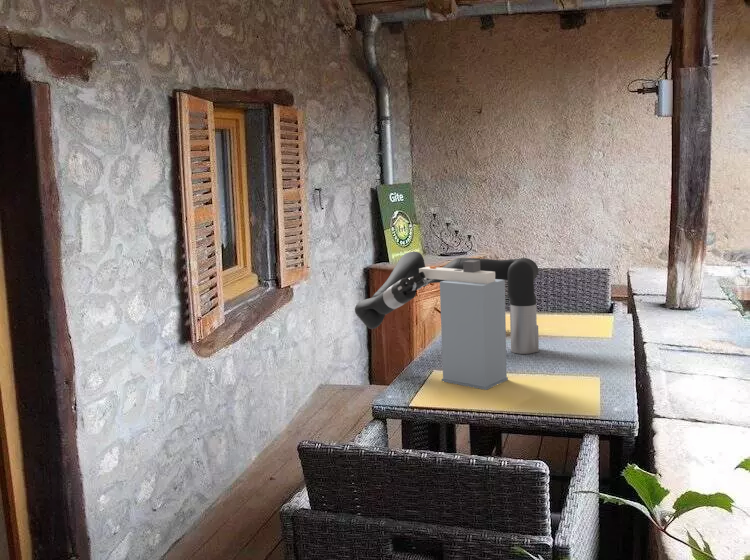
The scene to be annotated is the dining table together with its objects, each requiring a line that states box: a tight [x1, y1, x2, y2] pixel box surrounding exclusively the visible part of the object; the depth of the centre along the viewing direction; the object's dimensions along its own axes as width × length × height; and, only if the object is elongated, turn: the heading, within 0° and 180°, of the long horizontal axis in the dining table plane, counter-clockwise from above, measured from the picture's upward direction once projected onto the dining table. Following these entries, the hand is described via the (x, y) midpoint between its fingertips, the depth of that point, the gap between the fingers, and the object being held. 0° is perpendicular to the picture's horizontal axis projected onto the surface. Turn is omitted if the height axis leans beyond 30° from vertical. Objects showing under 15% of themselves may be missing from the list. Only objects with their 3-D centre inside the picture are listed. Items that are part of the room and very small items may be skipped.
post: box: [439, 279, 509, 391], centre depth 241 cm, size 17×13×32 cm
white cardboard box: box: [419, 260, 495, 284], centre depth 242 cm, size 26×4×6 cm, turn 49°
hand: (431, 272), depth 248 cm, fingers open, 8 cm apart
